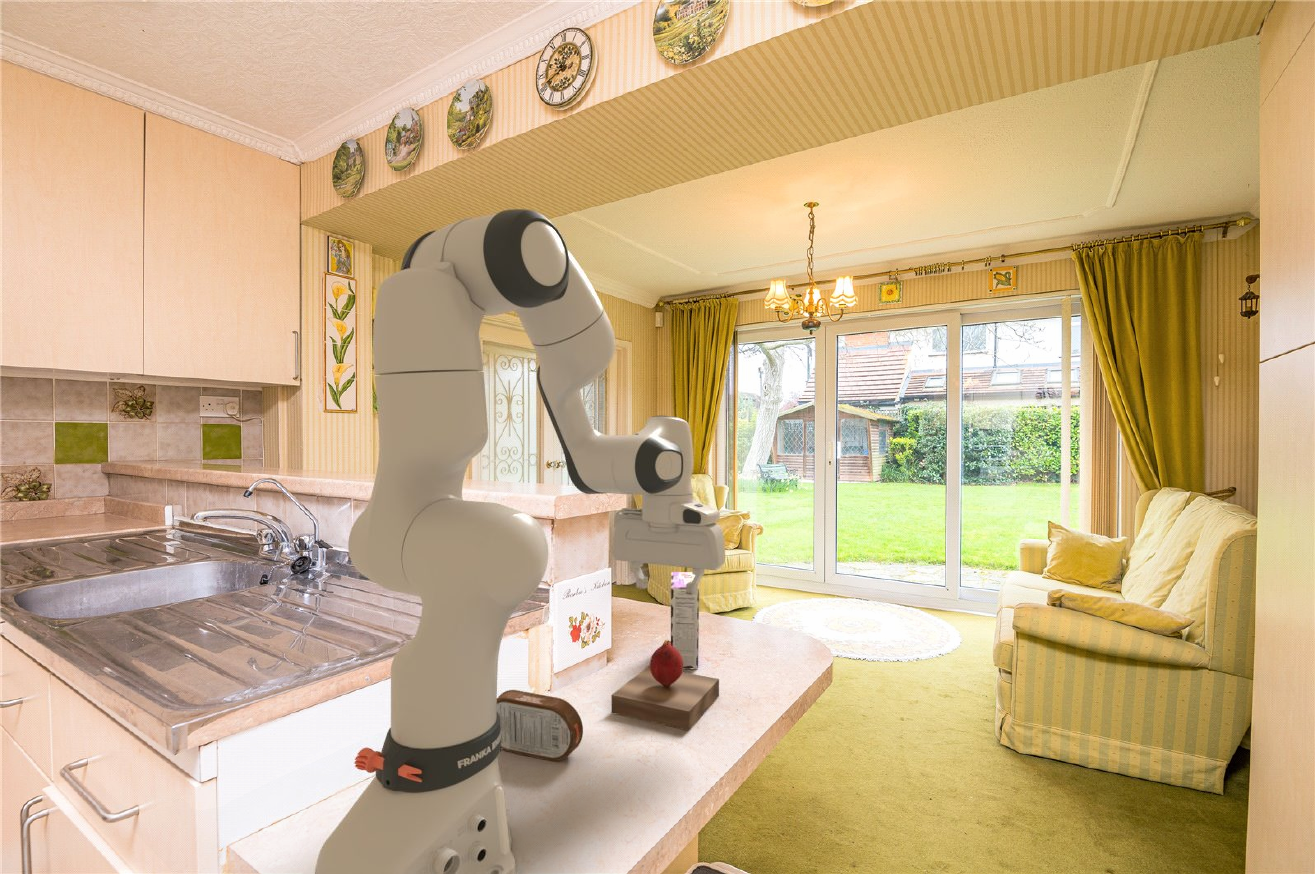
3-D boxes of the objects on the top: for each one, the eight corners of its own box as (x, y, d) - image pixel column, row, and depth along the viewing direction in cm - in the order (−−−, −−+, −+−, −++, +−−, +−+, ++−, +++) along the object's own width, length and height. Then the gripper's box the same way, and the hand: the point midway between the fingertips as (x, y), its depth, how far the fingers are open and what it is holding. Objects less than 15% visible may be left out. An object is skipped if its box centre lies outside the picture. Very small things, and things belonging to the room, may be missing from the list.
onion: (680, 695, 99) (680, 647, 99) (647, 692, 100) (646, 644, 100) (685, 680, 105) (685, 635, 105) (653, 678, 106) (653, 633, 106)
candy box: (670, 644, 132) (671, 570, 132) (697, 645, 132) (697, 571, 132) (669, 669, 118) (669, 586, 118) (699, 669, 118) (699, 586, 118)
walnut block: (689, 730, 93) (689, 711, 93) (611, 712, 99) (611, 694, 99) (719, 695, 106) (719, 678, 106) (648, 681, 112) (648, 665, 112)
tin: (584, 757, 85) (584, 699, 85) (573, 769, 82) (573, 708, 82) (495, 739, 90) (495, 684, 90) (482, 749, 87) (482, 692, 88)
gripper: (605, 508, 104) (605, 587, 104) (716, 515, 95) (715, 601, 95) (623, 505, 110) (622, 580, 110) (728, 511, 101) (728, 593, 101)
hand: (666, 590), depth 102 cm, fingers open, 8 cm apart
